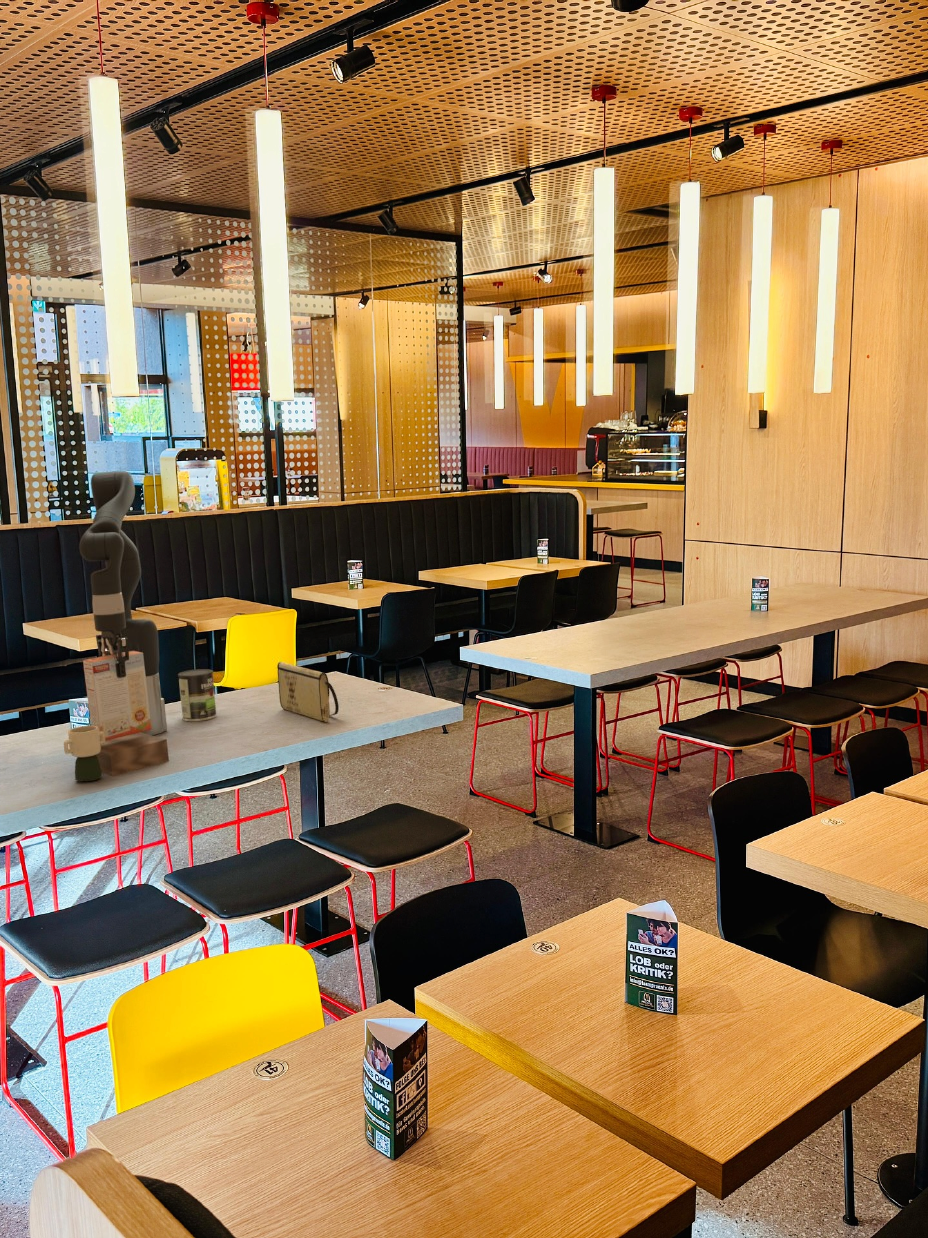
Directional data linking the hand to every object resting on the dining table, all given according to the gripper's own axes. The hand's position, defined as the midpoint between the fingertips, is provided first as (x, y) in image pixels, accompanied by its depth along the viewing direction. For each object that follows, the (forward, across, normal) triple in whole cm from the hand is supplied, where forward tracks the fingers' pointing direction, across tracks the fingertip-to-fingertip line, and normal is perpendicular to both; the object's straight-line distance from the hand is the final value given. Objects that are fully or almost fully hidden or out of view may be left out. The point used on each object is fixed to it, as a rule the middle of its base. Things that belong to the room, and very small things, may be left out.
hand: (115, 675), depth 266 cm
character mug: (+23, -7, +13) cm, 28 cm away
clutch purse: (+24, +3, -60) cm, 65 cm away
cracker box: (+16, 0, 0) cm, 16 cm away
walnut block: (+24, 0, 0) cm, 24 cm away
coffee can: (+24, +29, -38) cm, 53 cm away
